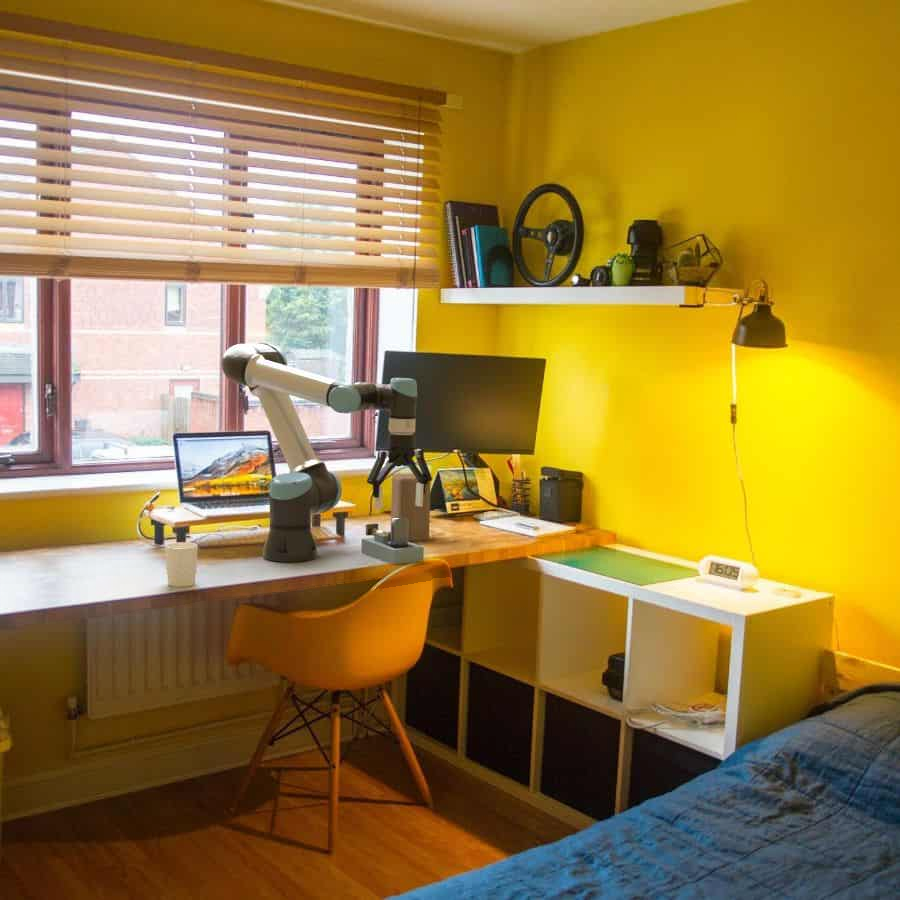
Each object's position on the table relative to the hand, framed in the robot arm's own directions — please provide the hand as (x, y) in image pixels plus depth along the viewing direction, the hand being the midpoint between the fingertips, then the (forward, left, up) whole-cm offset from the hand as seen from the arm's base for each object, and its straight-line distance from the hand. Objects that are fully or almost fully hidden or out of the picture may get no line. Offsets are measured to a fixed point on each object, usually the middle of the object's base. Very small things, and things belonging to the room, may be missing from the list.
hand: (398, 507), depth 311 cm
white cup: (-64, +1, -15) cm, 66 cm away
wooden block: (+18, +23, -15) cm, 33 cm away
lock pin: (0, +11, -11) cm, 16 cm away
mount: (0, +4, -15) cm, 15 cm away
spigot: (0, 0, -15) cm, 15 cm away
